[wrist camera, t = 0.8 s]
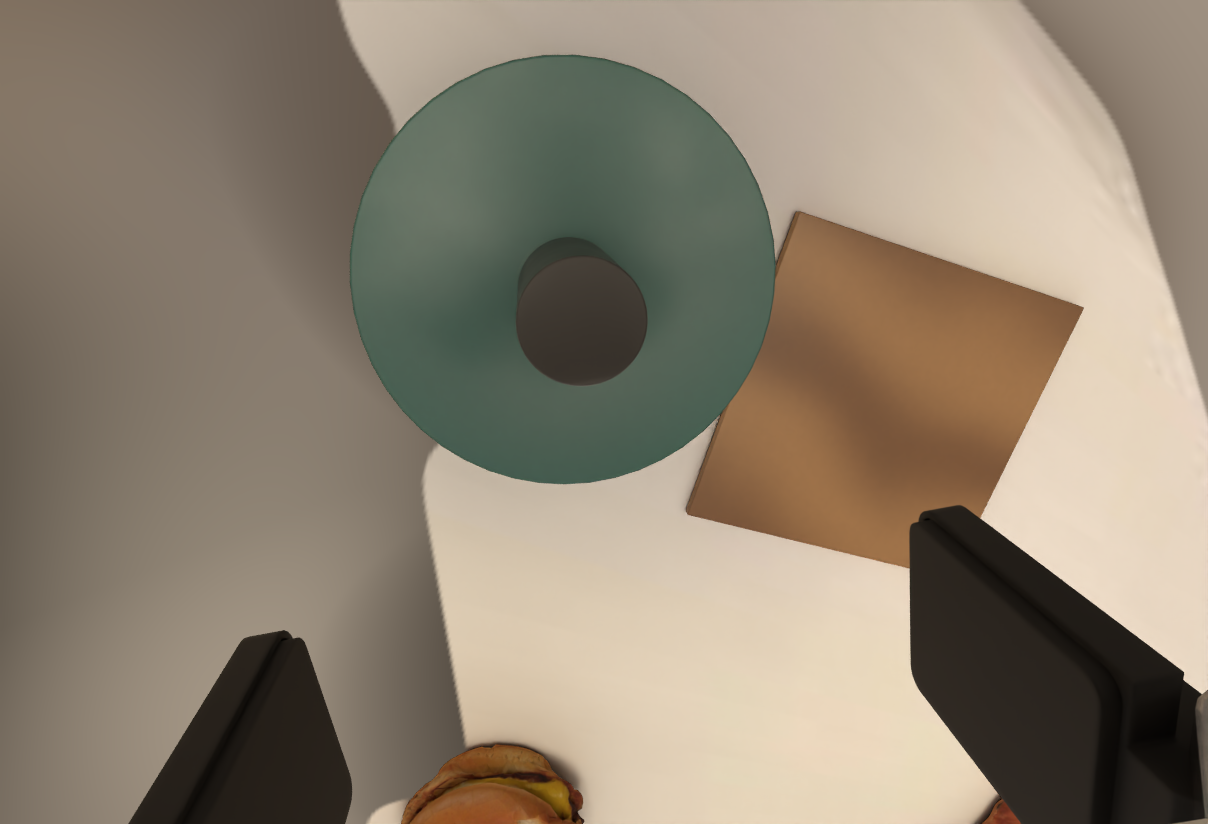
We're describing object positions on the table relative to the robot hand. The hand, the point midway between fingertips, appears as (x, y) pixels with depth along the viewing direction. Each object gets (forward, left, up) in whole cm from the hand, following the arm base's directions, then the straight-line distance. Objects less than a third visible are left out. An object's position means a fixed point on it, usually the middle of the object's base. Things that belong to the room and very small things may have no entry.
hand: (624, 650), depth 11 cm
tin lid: (-3, -1, -14) cm, 15 cm away
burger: (+27, +4, -23) cm, 35 cm away
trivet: (-1, +16, -23) cm, 28 cm away
